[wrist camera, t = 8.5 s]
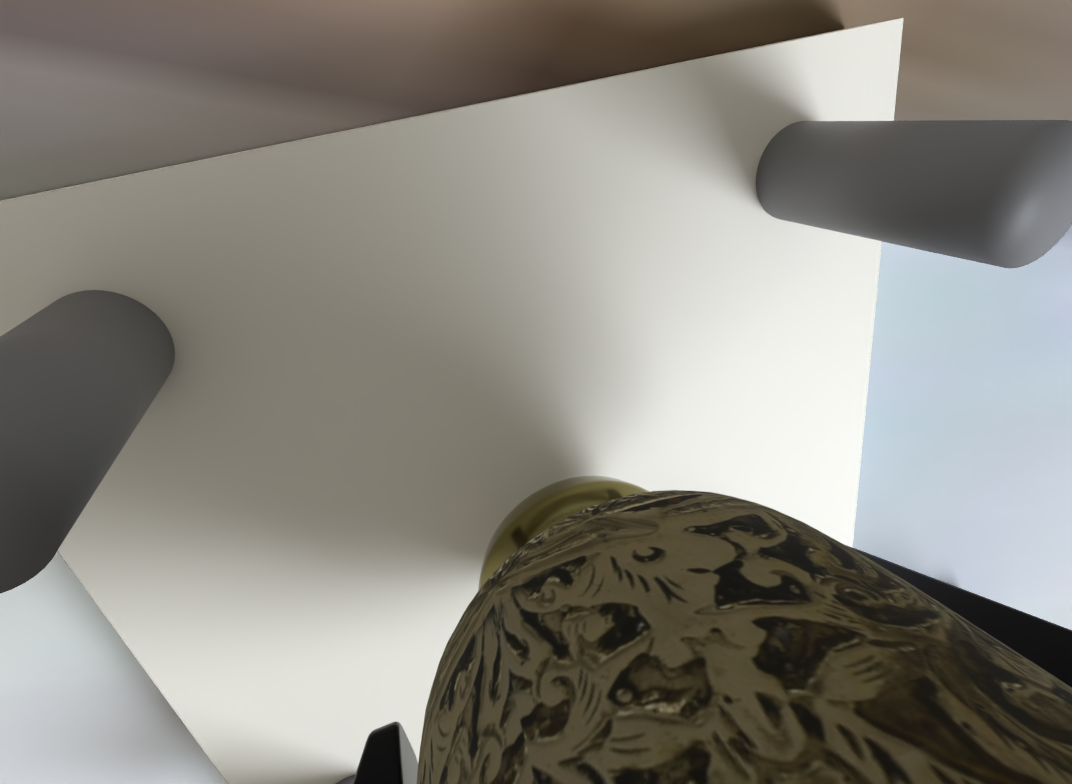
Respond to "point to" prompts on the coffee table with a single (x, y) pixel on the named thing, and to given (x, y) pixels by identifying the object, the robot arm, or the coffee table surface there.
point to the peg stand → (460, 357)
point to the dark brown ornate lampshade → (720, 658)
